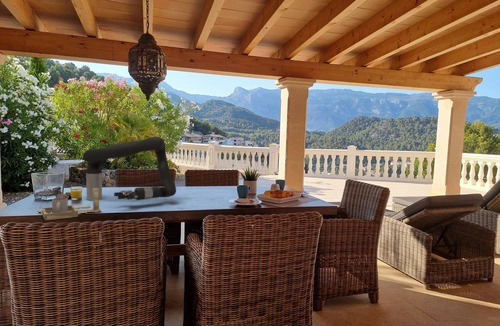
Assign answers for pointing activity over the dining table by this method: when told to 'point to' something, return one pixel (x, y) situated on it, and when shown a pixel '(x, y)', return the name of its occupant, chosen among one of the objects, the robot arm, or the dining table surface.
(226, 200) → the dining table surface
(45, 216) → the tan wooden stand
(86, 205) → the broken strip
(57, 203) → the cup
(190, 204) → the dining table surface
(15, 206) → the dining table surface
